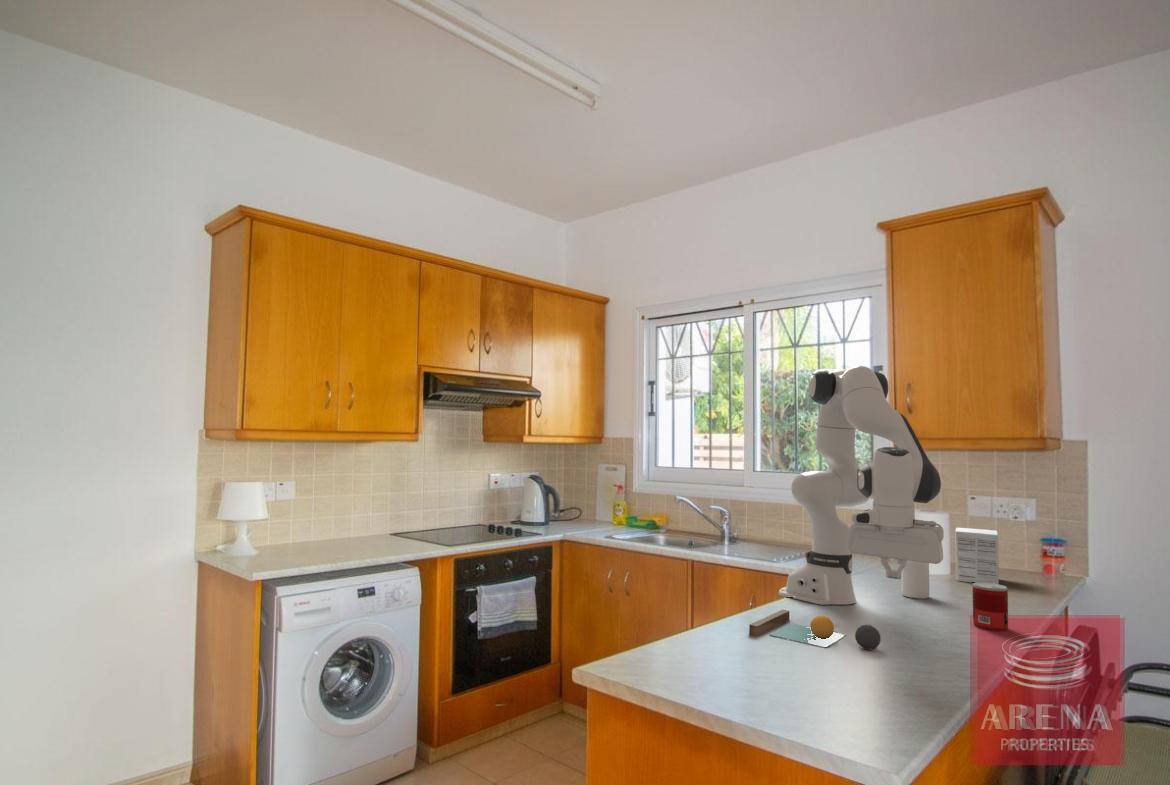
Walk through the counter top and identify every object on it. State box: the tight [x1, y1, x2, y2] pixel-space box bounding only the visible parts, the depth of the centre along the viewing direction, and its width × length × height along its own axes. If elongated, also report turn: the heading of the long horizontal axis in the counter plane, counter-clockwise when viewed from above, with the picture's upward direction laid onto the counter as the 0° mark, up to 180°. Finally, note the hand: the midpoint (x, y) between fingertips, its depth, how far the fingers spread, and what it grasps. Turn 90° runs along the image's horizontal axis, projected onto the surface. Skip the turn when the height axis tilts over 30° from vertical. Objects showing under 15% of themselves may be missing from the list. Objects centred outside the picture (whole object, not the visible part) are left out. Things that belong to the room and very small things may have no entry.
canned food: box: [972, 582, 1009, 632], centre depth 177 cm, size 8×8×11 cm
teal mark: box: [769, 623, 816, 644], centre depth 166 cm, size 14×14×1 cm
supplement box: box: [954, 527, 1000, 585], centre depth 239 cm, size 13×13×18 cm
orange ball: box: [809, 614, 835, 639], centre depth 164 cm, size 6×6×6 cm
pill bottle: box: [900, 560, 930, 600], centre depth 211 cm, size 8×8×15 cm
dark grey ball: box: [854, 624, 882, 651], centre depth 156 cm, size 6×6×6 cm
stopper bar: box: [748, 609, 790, 638], centre depth 172 cm, size 2×20×2 cm, turn 140°
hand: (893, 578), depth 154 cm, fingers closed
